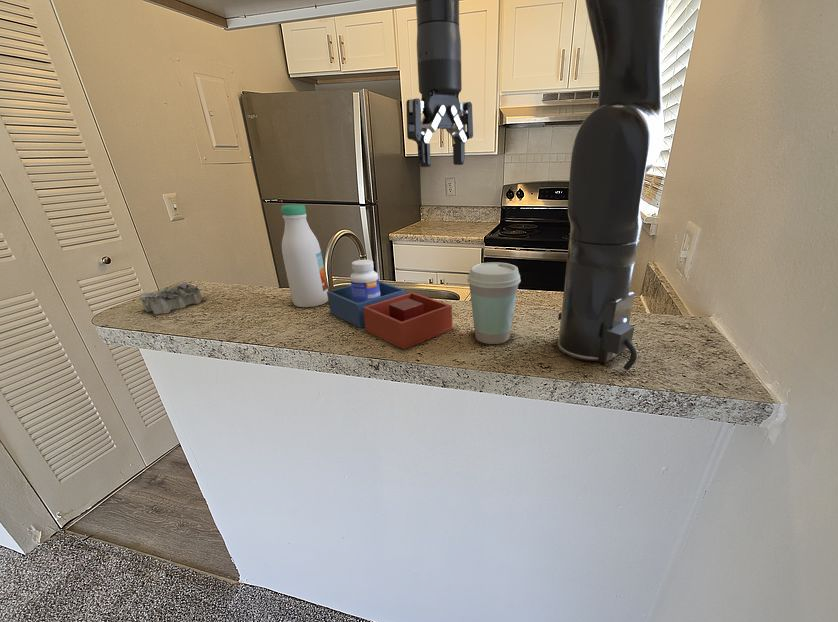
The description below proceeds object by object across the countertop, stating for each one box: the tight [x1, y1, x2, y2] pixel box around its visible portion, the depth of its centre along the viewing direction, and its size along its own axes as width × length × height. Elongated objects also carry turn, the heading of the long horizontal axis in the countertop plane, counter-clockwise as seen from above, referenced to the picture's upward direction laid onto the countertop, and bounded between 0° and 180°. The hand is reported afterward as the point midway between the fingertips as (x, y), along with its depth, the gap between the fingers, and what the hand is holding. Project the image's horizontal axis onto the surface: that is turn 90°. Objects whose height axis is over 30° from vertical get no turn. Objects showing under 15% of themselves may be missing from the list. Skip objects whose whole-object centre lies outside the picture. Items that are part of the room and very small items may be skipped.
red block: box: [389, 298, 424, 322], centre depth 72 cm, size 4×4×4 cm
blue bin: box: [327, 280, 407, 329], centre depth 81 cm, size 11×11×5 cm
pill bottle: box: [349, 259, 381, 303], centre depth 79 cm, size 5×5×10 cm
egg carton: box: [138, 281, 203, 315], centre depth 88 cm, size 11×8×4 cm
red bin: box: [363, 291, 453, 350], centre depth 72 cm, size 11×11×5 cm
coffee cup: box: [466, 261, 522, 345], centre depth 67 cm, size 8×8×12 cm
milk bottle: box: [280, 203, 329, 308], centre depth 84 cm, size 8×8×20 cm
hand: (442, 165), depth 76 cm, fingers open, 8 cm apart
